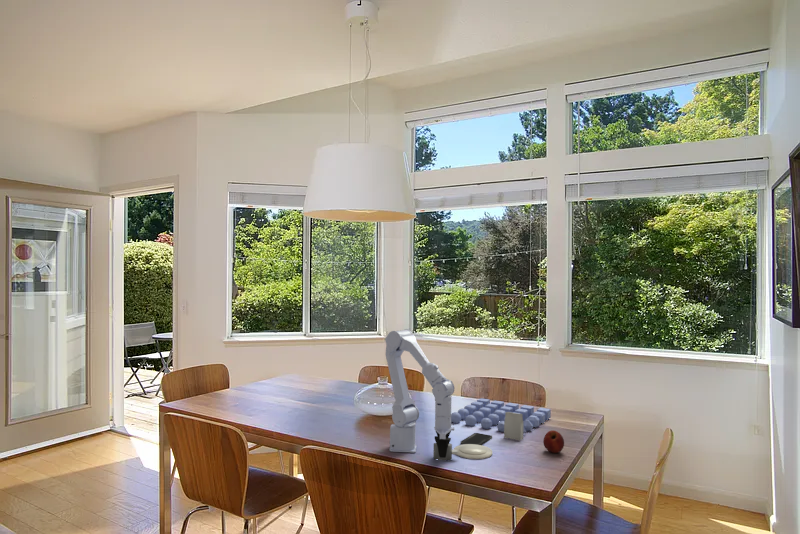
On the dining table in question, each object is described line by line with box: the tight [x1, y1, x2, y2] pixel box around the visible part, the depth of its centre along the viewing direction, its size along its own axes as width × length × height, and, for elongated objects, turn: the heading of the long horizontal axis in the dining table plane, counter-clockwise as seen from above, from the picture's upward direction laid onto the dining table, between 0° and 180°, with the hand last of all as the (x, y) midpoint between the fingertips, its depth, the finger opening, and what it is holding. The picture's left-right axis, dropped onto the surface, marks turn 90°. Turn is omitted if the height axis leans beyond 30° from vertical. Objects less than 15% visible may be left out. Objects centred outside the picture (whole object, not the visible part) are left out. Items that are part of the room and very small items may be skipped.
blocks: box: [451, 397, 552, 435], centre depth 232 cm, size 35×34×5 cm
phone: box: [460, 432, 493, 446], centre depth 203 cm, size 8×1×15 cm
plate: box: [453, 444, 493, 460], centre depth 189 cm, size 14×14×1 cm
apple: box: [542, 430, 565, 454], centre depth 191 cm, size 7×8×8 cm
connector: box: [432, 442, 458, 461], centre depth 182 cm, size 8×4×5 cm, turn 84°
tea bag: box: [503, 412, 524, 441], centre depth 207 cm, size 4×7×10 cm, turn 61°
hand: (442, 453), depth 182 cm, fingers open, 7 cm apart
